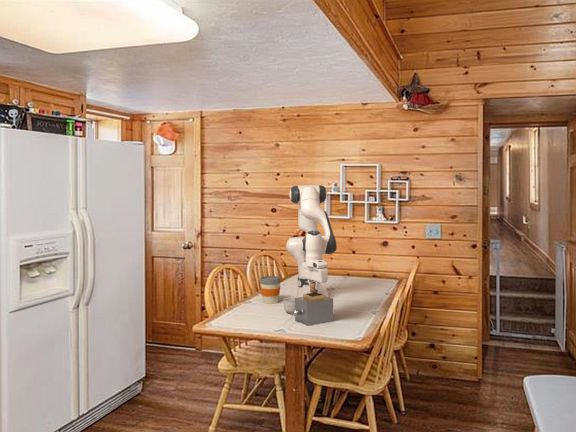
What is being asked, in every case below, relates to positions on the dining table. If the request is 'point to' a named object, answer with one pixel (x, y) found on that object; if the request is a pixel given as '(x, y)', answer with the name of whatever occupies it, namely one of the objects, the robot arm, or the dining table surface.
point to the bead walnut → (313, 288)
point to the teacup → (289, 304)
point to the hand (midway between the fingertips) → (314, 288)
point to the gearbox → (313, 309)
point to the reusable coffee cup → (270, 289)
